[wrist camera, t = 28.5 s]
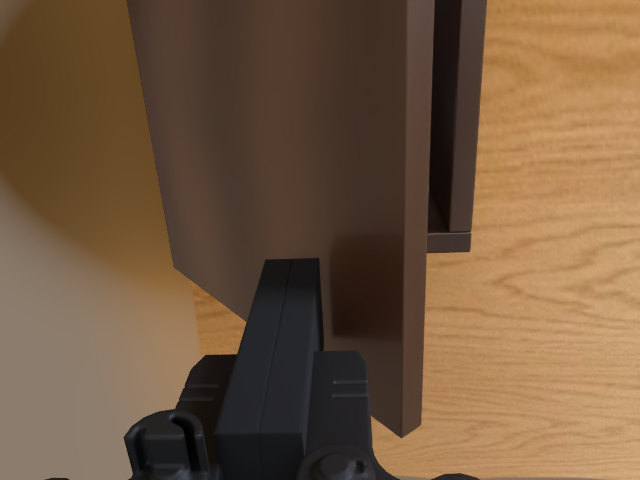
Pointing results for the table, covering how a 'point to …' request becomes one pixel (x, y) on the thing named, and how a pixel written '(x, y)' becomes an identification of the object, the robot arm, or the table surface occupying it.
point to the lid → (301, 162)
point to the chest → (454, 122)
